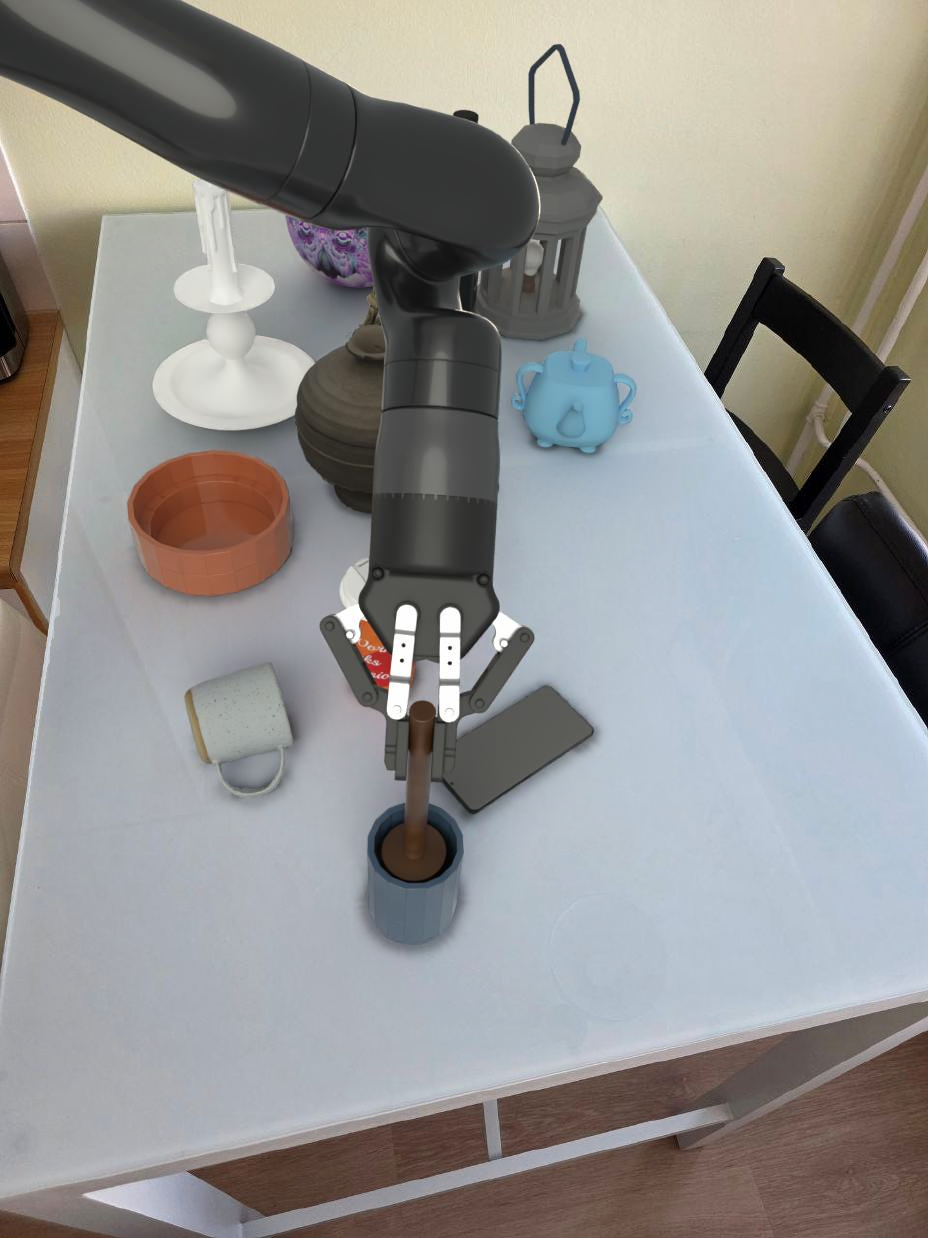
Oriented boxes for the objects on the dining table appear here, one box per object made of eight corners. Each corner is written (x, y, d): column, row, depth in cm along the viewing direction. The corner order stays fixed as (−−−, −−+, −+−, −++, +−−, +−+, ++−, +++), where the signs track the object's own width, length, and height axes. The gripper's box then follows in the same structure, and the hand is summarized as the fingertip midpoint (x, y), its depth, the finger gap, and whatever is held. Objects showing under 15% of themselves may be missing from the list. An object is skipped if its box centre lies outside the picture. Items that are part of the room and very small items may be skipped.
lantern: (446, 302, 136) (461, 35, 110) (525, 270, 144) (556, 14, 118) (525, 353, 128) (561, 78, 102) (604, 316, 136) (656, 53, 110)
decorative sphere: (265, 291, 134) (251, 150, 119) (329, 236, 147) (323, 101, 132) (388, 326, 130) (389, 184, 115) (443, 266, 143) (450, 131, 128)
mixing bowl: (247, 618, 93) (240, 573, 88) (109, 572, 95) (94, 526, 91) (317, 519, 103) (314, 474, 98) (191, 480, 106) (181, 435, 101)
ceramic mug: (190, 718, 84) (175, 668, 78) (277, 694, 86) (270, 644, 81) (214, 816, 78) (201, 769, 72) (307, 787, 80) (302, 740, 74)
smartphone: (597, 730, 85) (472, 813, 78) (595, 735, 86) (471, 819, 79) (548, 682, 88) (424, 758, 82) (546, 687, 89) (424, 763, 82)
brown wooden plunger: (431, 904, 67) (446, 755, 52) (371, 881, 68) (369, 728, 53) (453, 849, 70) (474, 693, 55) (395, 827, 71) (400, 668, 56)
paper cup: (328, 675, 88) (320, 575, 78) (389, 636, 92) (389, 536, 82) (379, 726, 85) (378, 628, 74) (440, 684, 89) (448, 585, 78)
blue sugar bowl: (576, 396, 123) (587, 319, 115) (646, 450, 115) (663, 372, 107) (500, 424, 118) (505, 346, 110) (567, 483, 110) (579, 403, 102)
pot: (301, 544, 99) (292, 378, 85) (296, 453, 112) (287, 295, 98) (463, 538, 102) (479, 376, 88) (440, 449, 115) (451, 296, 101)
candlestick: (298, 331, 128) (282, 117, 107) (337, 437, 113) (326, 213, 92) (147, 347, 123) (98, 127, 102) (165, 461, 108) (113, 229, 87)
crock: (437, 958, 71) (443, 903, 63) (354, 926, 72) (351, 869, 65) (467, 879, 75) (476, 820, 68) (389, 850, 77) (390, 789, 69)
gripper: (312, 481, 51) (297, 788, 52) (557, 496, 51) (537, 800, 52) (327, 491, 58) (314, 760, 59) (541, 505, 59) (523, 770, 60)
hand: (419, 777), depth 56 cm, fingers closed on brown wooden plunger
